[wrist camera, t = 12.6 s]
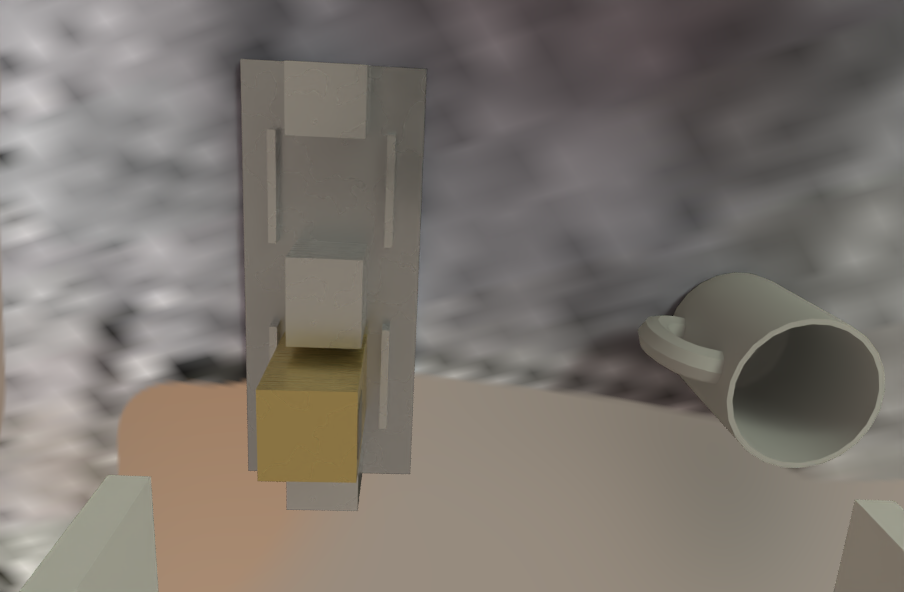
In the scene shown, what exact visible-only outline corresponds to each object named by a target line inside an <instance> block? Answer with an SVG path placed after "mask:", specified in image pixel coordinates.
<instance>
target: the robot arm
mask: <svg viewBox="0 0 904 592" xmlns="http://www.w3.org/2000/svg"><path fill="white" fill-rule="evenodd" d="M152 504H153V503H152V489H151V477H148V476H117V475H108V476H107V477H106V478H105V480H104V481H103V482H102V484H101V485H100V486H99V488H98V489H97V490H96V492H95V493H94V494H93V495H92V497H91V498H90V499H89V501H88V502H87V503H86V505H85V506H84V507H83V509H82V510H81V511H80V513H79V514H78V515H77V516H76V518H75V519H74V520H73V522H72V523H71V524H70V526H69V527H68V528H67V530H66V531H65V532H64V534H63V535H62V536H61V537H60V539H59V540H58V541H57V543H56V544H55V545H54V547H53V548H52V549H51V551H50V552H49V553H48V555H47V556H46V557H45V558H44V560H43V561H42V562H41V564H40V565H39V566H38V568H37V569H36V570H35V572H34V573H33V574H32V576H31V577H30V578H29V580H28V581H27V582H26V583H25V585H24V586H23V587H22V589H21V590H20V591H19V592H158V577H157V563H156V548H155V534H154V520H153V519H154V518H153V505H152ZM834 592H904V510H903V509H902V508H901V507H900V506H899V505H898V504H897V503H896V502H895V501H883V500H855V502H854V506H853V511H852V515H851V519H850V524H849V528H848V532H847V537H846V541H845V545H844V549H843V554H842V558H841V562H840V567H839V571H838V575H837V580H836V584H835V588H834Z"/></svg>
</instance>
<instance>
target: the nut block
mask: <svg viewBox="0 0 904 592" xmlns="http://www.w3.org/2000/svg"><path fill="white" fill-rule="evenodd" d="M366 382H367V334H364V335H363V341H362V346H361V349H344V348H312V347H286V332H284V333H283V335H282V337H281V339H280V342H279V344H278V346H277V348H276V350H275V352H274V354H273V356H272V358H271V360H270V362H269V364H268V366H267V368H266V370H265V372H264V374H263V376H262V378H261V380H260V382H259V384H258V386H257V388H256V425H257V471H258V481H276V482H278V481H279V482H281V481H282V482H338V483H356V482H357V475H358V467H359V459H360V452H361V444H362V437H363V429H364V422H365V414H366Z"/></svg>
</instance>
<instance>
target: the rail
mask: <svg viewBox="0 0 904 592" xmlns="http://www.w3.org/2000/svg"><path fill="white" fill-rule="evenodd" d="M240 65H241V116H242V166H243V217H244V268H245V319H246V369H247V420H248V470H249V471H257V425H256V388H257V386H258V384H259V382H260V380H261V378H262V376H263V374H264V372H265V370H266V368H267V366H268V364H269V362H270V360H271V358H272V356H273V354H274V352H275V350H276V348H277V346H278V344H279V342H280V339H281V337H282V335H283V333H284V332H286V347H312V348H344V349H361V346H362V341H363V335H364V334H367V382H366V414H365V422H364V429H363V437H362V444H361V452H360V459H359V467H358V475H357V482H356V483H338V482H287V487H286V488H287V510H333V511H334V510H335V511H357V510H358V502H359V494H360V486H361V478H362V473H381V474H385V473H386V474H410V464H411V440H412V416H413V392H414V367H415V343H416V319H417V294H418V270H419V245H420V221H421V197H422V172H423V148H424V123H425V99H426V75H427V69H417V68H399V67H380V66H369V65H360V64H341V63H322V62H304V61H285V60H284V61H269V60H250V59H240Z"/></svg>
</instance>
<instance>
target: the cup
mask: <svg viewBox="0 0 904 592" xmlns="http://www.w3.org/2000/svg"><path fill="white" fill-rule="evenodd" d="M638 335H639V342H640V345H641V348H642V349H643V350H644V351H645V352H646V354H647V355H649V356H650V357H651V358H653V359H654V360H655V361H656V362H658V363H660V364H661V365H663V366H664V367H666V368H668V369H669V370H671V371H673V372H675V373H677V374H679V375H680V376H681V378H682V379H683V380H684V381H685V382H686V384H687V385H688V386H689V387H690V388H691V389H692V390H693V392H694V393H695V394H696V395H697V396H698V397H699V398H700V399H701V400H702V402H703V403H704V404H705V405H706V406H707V407H708V408H709V409H710V410H711V412H712V413H713V414H714V415H715V416H716V417H717V418H718V419H719V420H720V422H721V423H722V424H723V425H724V426H725V427H726V428H727V429H728V430H729V431H730V433H731V434H732V435H733V436H734V437H735V438H736V439H737V440H738V442H739V443H740V444H741V445H742V446H743V447H744V448H745V449H746V450H747V451H748V452H749V453H751V454H752V455H754V456H755V457H757V458H758V459H760V460H762V461H763V462H766V463H769V464H773V465H776V466H779V467H789V468H803V467H809V466H814V465H819V464H822V463H825V462H827V461H829V460H831V459H834V458H836V457H838V456H840V455H842V454H843V453H844V452H846V451H847V450H848V449H850V448H851V447H852V446H854V445H855V444H856V443H858V441H859V440H860V439H861V438H862V437H863V436H864V434H865V433H866V432H867V431H868V430H869V429H870V428H871V426H872V424H873V422H874V420H875V418H876V416H877V414H878V413H879V411H880V409H881V404H882V400H883V396H884V392H885V376H884V368H883V365H882V362H881V359H880V356H879V354H878V352H877V350H876V349H875V348H874V346H873V345H872V343H871V342H870V341H869V339H868V338H867V337H866V336H864V335H863V334H862V333H860V332H859V331H857V330H856V329H855V328H853V327H852V326H850V325H848V324H847V323H845V322H843V321H841V320H840V319H838V318H836V317H834V316H833V315H831V314H829V313H827V312H825V311H824V310H822V309H820V308H818V307H817V306H815V305H813V304H811V303H810V302H808V301H806V300H804V299H803V298H801V297H799V296H797V295H795V294H794V293H792V292H790V291H788V290H787V289H785V288H783V287H781V286H780V285H778V284H776V283H774V282H773V281H770V280H768V279H765V278H762V277H759V276H756V275H754V274H751V273H735V272H734V273H728V274H723V275H718V276H715V277H713V278H711V279H709V280H707V281H705V282H703V283H701V284H699V285H698V286H697V287H696V288H694V289H693V290H692V291H691V292H689V293H688V294H687V295H686V296H685V298H684V299H683V300H682V302H681V303H680V304H679V306H678V307H677V308H676V311H675V313H674V315H673V316H667V315H663V316H652V317H648V318H647V319H646V321H645V322H644V323H643V324H642V325H641V326H640V328H639V329H638Z"/></svg>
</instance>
